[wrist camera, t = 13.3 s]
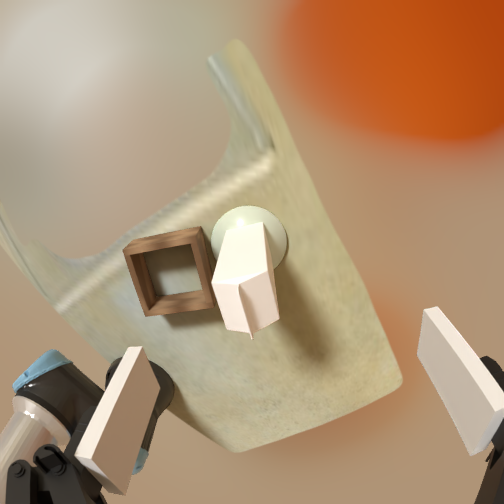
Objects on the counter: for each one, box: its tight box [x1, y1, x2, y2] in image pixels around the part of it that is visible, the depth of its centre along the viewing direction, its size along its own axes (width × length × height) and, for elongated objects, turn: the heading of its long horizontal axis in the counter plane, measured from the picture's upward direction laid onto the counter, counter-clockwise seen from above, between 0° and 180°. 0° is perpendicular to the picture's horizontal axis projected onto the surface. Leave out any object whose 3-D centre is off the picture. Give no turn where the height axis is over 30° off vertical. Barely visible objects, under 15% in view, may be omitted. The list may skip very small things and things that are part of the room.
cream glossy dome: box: [211, 205, 287, 270], centre depth 52 cm, size 12×12×1 cm
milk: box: [211, 222, 279, 340], centre depth 41 cm, size 6×6×22 cm
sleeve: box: [123, 226, 216, 317], centre depth 51 cm, size 12×12×5 cm
